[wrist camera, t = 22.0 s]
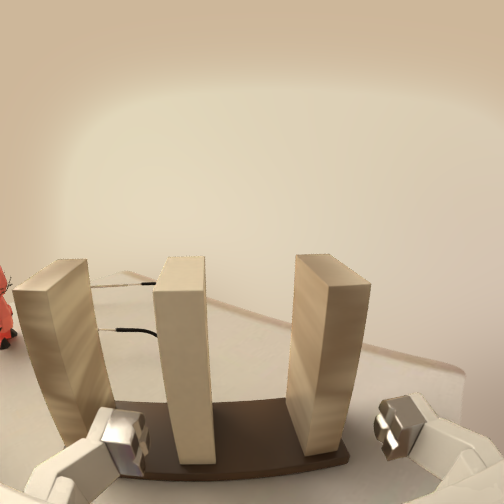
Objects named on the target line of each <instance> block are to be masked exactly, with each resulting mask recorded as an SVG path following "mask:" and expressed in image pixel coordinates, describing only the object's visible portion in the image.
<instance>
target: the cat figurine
mask: <svg viewBox="0 0 504 504" xmlns="http://www.w3.org/2000/svg"><path fill="white" fill-rule="evenodd" d="M11 285H12V284H11ZM11 285H8V286H7V280H6V278H5V275H4V273H3V271H2V268H1V266H0V349H4V348H8V347H9V346H10V344H9V342H8V341H7V340H6V339H8V338H12V337H14V336H16V335H17V332H16V331H14V330H13V329H12V327H13V320H12V315H13V312H12V309H11V306H10V305H7V303H6V301H5V299H4V297H3V296H2V295H3V294H5V292H6V291H7V290H6V287H7V289H8V287H9V286H11Z"/></svg>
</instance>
